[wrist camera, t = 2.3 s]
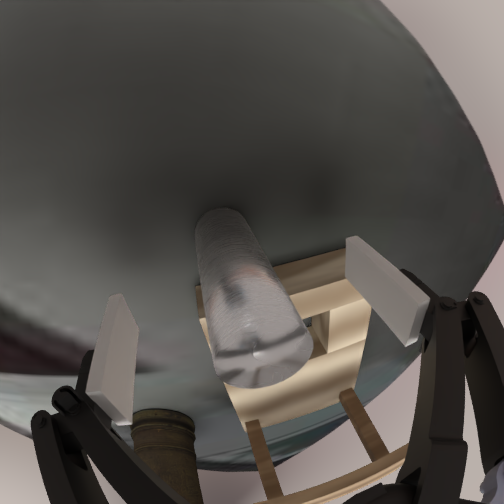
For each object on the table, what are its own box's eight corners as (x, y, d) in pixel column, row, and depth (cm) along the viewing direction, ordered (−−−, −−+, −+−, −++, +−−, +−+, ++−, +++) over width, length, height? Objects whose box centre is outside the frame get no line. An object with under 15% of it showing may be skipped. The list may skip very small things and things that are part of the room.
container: (129, 404, 28) (136, 540, 13) (200, 411, 31) (226, 539, 16) (129, 432, 31) (137, 542, 16) (188, 438, 35) (208, 542, 19)
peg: (188, 214, 19) (201, 338, 9) (243, 201, 20) (313, 308, 10) (201, 262, 21) (226, 397, 11) (251, 250, 22) (312, 372, 12)
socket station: (189, 287, 22) (220, 496, 8) (356, 244, 24) (485, 373, 10) (235, 409, 32) (267, 519, 19) (342, 375, 34) (395, 470, 20)
